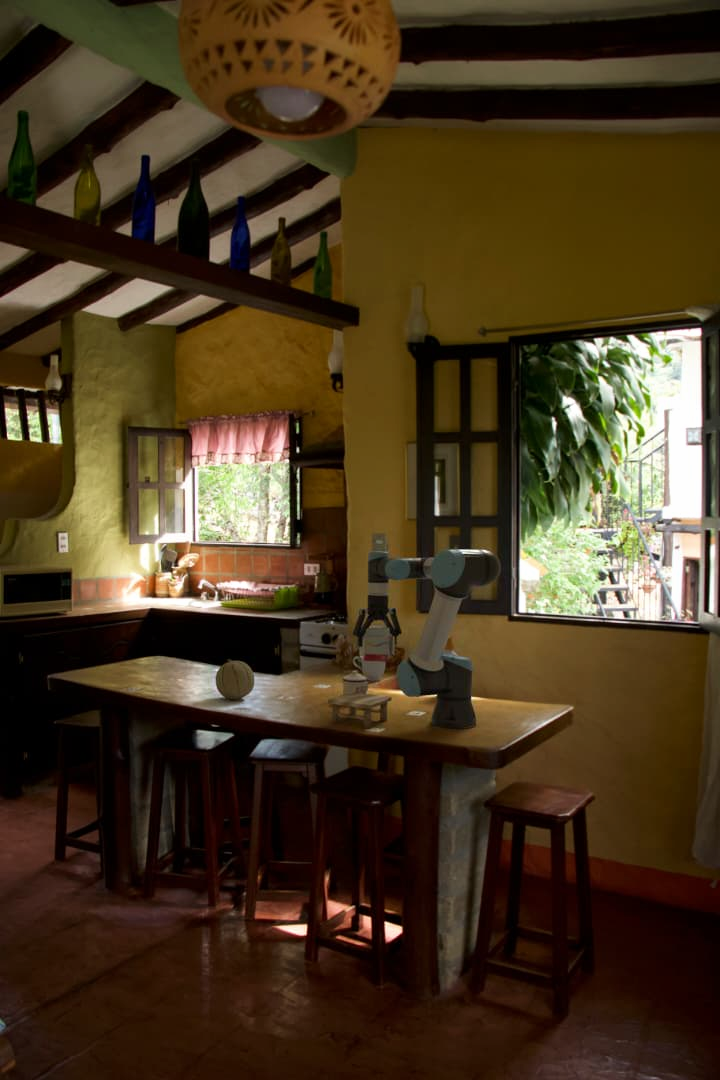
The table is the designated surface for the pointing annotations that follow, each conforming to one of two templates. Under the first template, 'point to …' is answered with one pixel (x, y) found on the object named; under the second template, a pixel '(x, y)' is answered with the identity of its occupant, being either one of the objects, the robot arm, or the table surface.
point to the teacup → (371, 668)
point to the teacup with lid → (355, 683)
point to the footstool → (359, 706)
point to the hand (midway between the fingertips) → (377, 655)
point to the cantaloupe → (234, 680)
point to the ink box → (377, 644)
